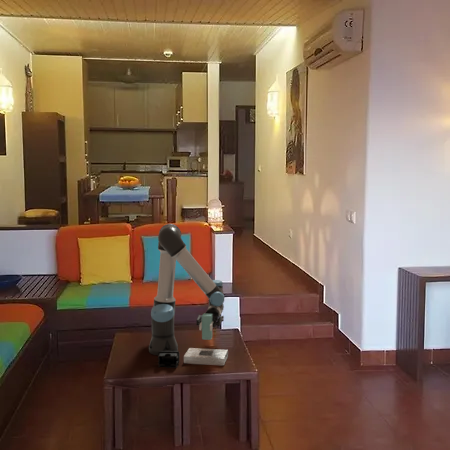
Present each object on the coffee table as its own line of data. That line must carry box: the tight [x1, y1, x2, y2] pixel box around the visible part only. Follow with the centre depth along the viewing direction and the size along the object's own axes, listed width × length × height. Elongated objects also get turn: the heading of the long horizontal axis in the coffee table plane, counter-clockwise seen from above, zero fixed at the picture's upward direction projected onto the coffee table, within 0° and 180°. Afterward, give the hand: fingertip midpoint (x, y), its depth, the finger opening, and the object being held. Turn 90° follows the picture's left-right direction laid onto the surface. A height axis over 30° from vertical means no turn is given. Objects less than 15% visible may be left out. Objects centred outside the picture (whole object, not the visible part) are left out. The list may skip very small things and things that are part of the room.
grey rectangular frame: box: [183, 347, 229, 366], centre depth 284 cm, size 20×12×4 cm, turn 80°
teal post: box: [201, 312, 213, 341], centre depth 283 cm, size 4×4×12 cm
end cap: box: [157, 350, 180, 369], centre depth 277 cm, size 10×7×7 cm
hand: (205, 327), depth 278 cm, fingers closed on teal post, 4 cm apart
